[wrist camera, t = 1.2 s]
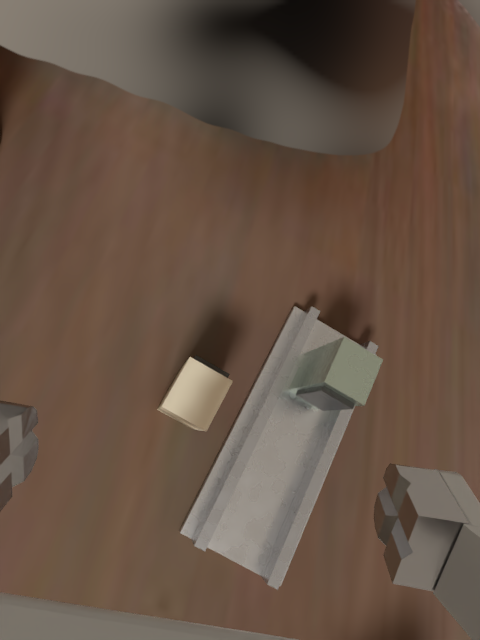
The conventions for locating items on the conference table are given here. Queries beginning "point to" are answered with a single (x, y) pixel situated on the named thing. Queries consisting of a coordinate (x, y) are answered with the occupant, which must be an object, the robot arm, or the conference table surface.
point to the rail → (282, 446)
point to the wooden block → (196, 394)
